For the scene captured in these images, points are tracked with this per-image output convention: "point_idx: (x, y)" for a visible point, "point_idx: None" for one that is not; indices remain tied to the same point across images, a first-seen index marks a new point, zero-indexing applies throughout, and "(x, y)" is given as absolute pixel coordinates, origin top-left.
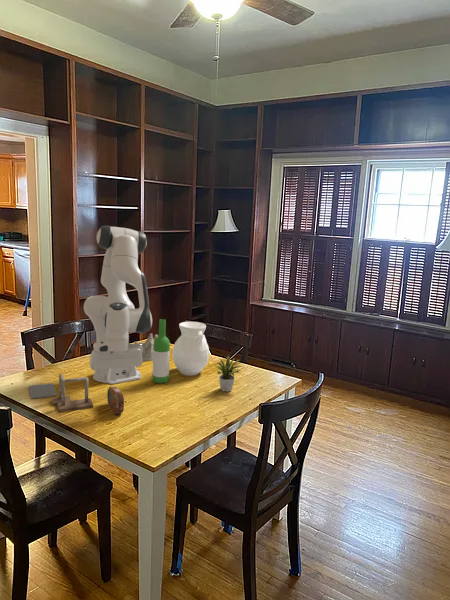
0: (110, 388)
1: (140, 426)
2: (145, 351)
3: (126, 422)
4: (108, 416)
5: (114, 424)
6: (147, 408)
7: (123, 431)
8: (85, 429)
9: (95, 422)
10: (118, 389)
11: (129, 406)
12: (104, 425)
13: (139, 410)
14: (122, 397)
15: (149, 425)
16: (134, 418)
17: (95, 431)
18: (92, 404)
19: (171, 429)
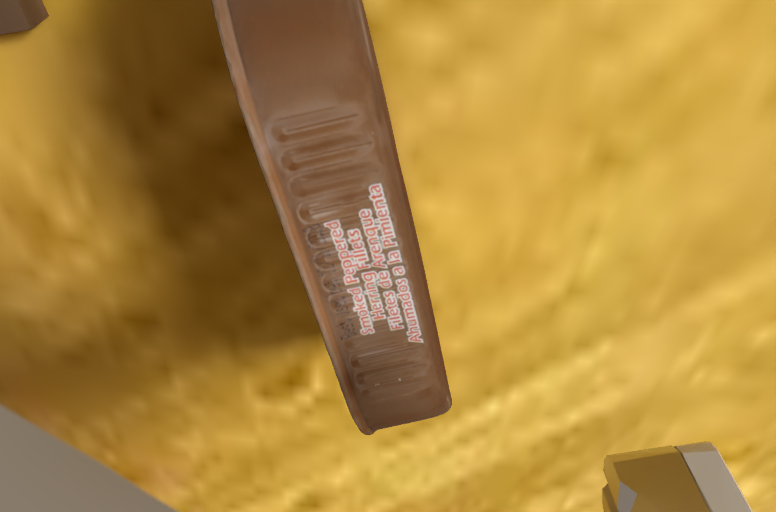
0: (246, 32)
1: (532, 450)
2: None
3: None
4: (274, 271)
5: (331, 403)
6: (736, 158)
7: (393, 488)
8: (100, 437)
9: (160, 356)
10: (402, 234)
11: (543, 63)
12: (247, 407)
13: (626, 193)
14: (433, 416)
15: (605, 447)
16: (521, 340)
17: (186, 467)
18: (16, 11)
19: None
